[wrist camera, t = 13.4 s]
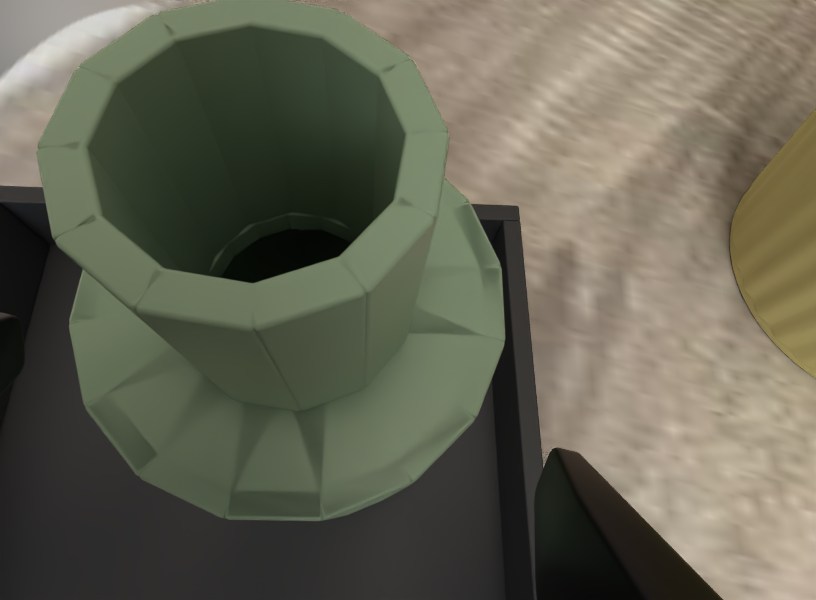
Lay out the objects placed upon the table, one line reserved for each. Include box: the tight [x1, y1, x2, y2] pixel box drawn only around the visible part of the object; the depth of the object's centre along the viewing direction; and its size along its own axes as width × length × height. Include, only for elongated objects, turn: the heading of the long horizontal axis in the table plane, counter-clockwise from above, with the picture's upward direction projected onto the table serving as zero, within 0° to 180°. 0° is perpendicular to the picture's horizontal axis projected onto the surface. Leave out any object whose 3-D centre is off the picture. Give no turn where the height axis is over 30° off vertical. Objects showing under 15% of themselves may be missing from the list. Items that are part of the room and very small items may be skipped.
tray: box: [0, 186, 543, 600], centre depth 15 cm, size 21×17×4 cm
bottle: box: [37, 0, 505, 521], centre depth 11 cm, size 6×6×14 cm
